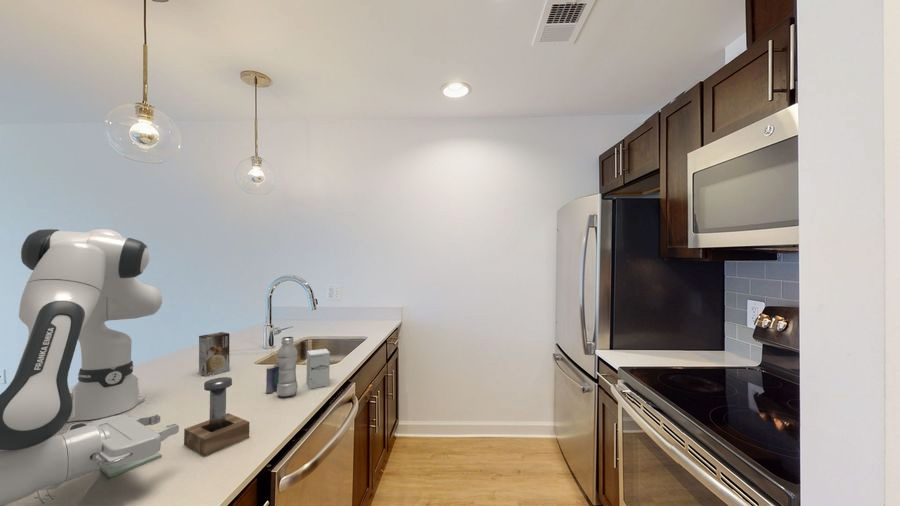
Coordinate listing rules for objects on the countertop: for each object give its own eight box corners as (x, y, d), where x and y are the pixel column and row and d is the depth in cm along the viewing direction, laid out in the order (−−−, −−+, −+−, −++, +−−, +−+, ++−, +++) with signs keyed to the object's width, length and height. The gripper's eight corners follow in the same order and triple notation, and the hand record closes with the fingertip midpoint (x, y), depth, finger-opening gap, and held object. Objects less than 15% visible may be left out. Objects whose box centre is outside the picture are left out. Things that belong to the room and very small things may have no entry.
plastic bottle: (289, 399, 115) (290, 340, 116) (272, 398, 116) (272, 339, 117) (301, 392, 121) (302, 336, 122) (284, 391, 123) (285, 335, 123)
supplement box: (308, 389, 124) (309, 354, 125) (306, 383, 131) (306, 350, 131) (329, 386, 128) (330, 352, 128) (326, 380, 134) (326, 347, 135)
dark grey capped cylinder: (198, 443, 88) (199, 382, 88) (223, 433, 93) (224, 375, 93) (210, 449, 85) (211, 386, 85) (235, 438, 90) (236, 379, 90)
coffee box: (222, 368, 149) (222, 331, 150) (229, 371, 146) (230, 333, 146) (197, 374, 141) (198, 335, 142) (205, 377, 138) (206, 337, 138)
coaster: (95, 465, 78) (95, 462, 78) (145, 446, 86) (145, 444, 86) (110, 477, 74) (110, 474, 74) (161, 456, 81) (161, 454, 81)
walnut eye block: (183, 444, 87) (184, 428, 87) (227, 427, 96) (228, 413, 96) (204, 456, 82) (205, 439, 82) (249, 437, 91) (249, 421, 91)
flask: (268, 394, 120) (269, 363, 120) (263, 393, 121) (264, 362, 122) (292, 386, 128) (292, 357, 128) (287, 384, 129) (287, 356, 130)
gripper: (102, 449, 63) (189, 419, 75) (68, 422, 73) (150, 400, 85) (101, 484, 63) (189, 448, 74) (67, 452, 73) (149, 425, 85)
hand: (168, 422), depth 80 cm, fingers open, 8 cm apart
